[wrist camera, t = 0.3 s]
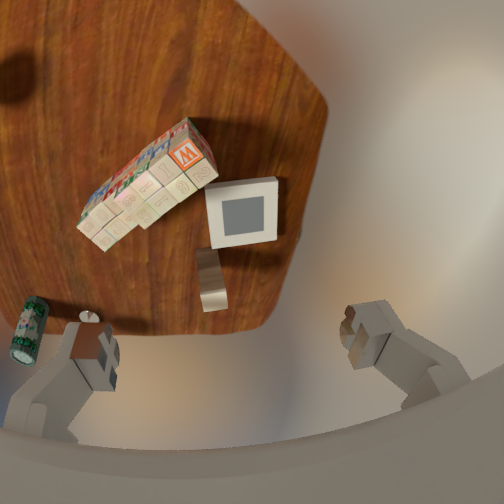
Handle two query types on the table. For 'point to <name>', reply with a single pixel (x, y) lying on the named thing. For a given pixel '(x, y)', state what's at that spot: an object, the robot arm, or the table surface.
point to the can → (29, 331)
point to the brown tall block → (211, 280)
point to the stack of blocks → (149, 185)
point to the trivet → (242, 211)
